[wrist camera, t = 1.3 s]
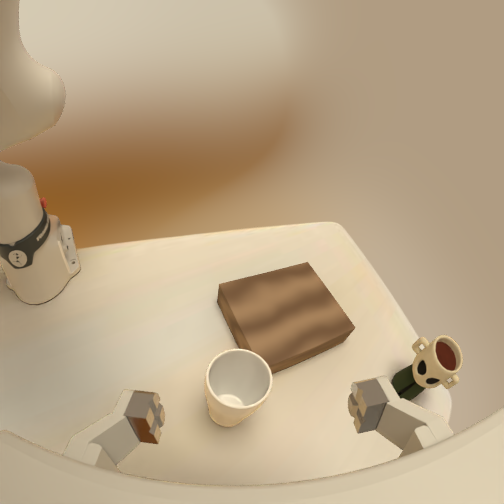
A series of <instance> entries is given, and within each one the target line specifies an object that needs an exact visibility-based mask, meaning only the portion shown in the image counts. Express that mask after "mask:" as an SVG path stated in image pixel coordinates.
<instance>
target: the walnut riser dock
mask: <svg viewBox="0 0 504 504" xmlns="http://www.w3.org/2000/svg"><path fill="white" fill-rule="evenodd" d="M217 302H218V305H219V307H220V309H221V311H222V313H223V315H224V318H225V320H226V322H227V324H228V326H229V328H230V330H231V332H232V335H233V337H234V339H235V341H236V343H237V345H238V347H239V349H245V350H249V351H252V352H254V353H256V354H257V355H259V356H260V357H262V358H263V359H264V360H265V361H266V363H267V364H268V366H269V368H270V370H271V373H272V374H273V373H276V372H278V371H281V370H283V369H286V368H288V367H290V366H293V365H295V364H297V363H300V362H302V361H304V360H306V359H309V358H311V357H313V356H315V355H317V354H320V353H322V352H324V351H326V350H328V349H330V348H332V347H334V346H336V345H338V344H340V343H342V342H344V341H345V340H346V338H347V337H348V336H349V335H350V334H351V333H352V331H353V330H354V329H355V326H354V325H353V324H352V322H351V321H350V319H349V318H348V317H347V315H346V314H345V312H344V311H343V310H342V308H341V307H340V305H339V304H338V303H337V301H336V300H335V298H334V297H333V296H332V294H331V293H330V292H329V290H328V289H327V288H326V286H325V285H324V283H323V282H322V281H321V279H320V278H319V277H318V275H317V274H316V273H315V271H314V270H313V269H312V267H311V266H310V265H309V263H308V262H306V263H302V264H298V265H294V266H290V267H286V268H283V269H279V270H275V271H271V272H267V273H263V274H259V275H255V276H251V277H247V278H242V279H238V280H234V281H230V282H226V283H222V284H219V290H218V299H217Z"/></svg>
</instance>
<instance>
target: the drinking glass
mask: <svg viewBox="0 0 504 504" xmlns="http://www.w3.org/2000/svg"><path fill="white" fill-rule="evenodd" d="M272 383H273V378H272V373H271V370H270V368H269V366H268V364H267V363H266V361H265V360H264V359H263V358H262V357H260V356H259V355H257V354H256V353H254V352H252V351H249V350H245V349H230V350H226V351H223V352H221V353H220V354H218V355H217V356H215V357H214V358H213V359H212V361H211V362H210V364H209V365H208V368H207V371H206V376H205V383H204V390H205V396H206V400H207V404H208V410H209V415H210V417H211V418H212V420H213V421H214V422H215V423H217V424H219V425H221V426H225V427H231V426H235V425H237V424H239V423H240V422H241V421H242V420H243V419H245V418H246V417H248V416H249V415H251V414H252V413H254V412H255V411H256V410H257V409H258V408H259V407H260V406H261V405H262V404H263V403H264V401H265V400H266V398H267V396H268V395H269V393H270V391H271V388H272Z"/></svg>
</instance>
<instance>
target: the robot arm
mask: <svg viewBox="0 0 504 504" xmlns="http://www.w3.org/2000/svg"><path fill="white" fill-rule="evenodd" d="M64 104H65V87H64V84H63V81H62V79H61V78H60V76H59V75H58V74H57V73H56V72H55V71H54V70H52V69H50V68H47V67H45V66H43V65H41V64H39V63H38V62H36V61H35V60H34V59H33V58H32V57H31V56H30V55H29V54H28V53H27V51H26V49H25V48H24V46H23V44H22V41H21V38H20V32H19V0H0V152H1V151H3V150H5V149H8V148H10V147H12V146H15V145H18V144H20V143H23V142H25V141H28V140H31V139H32V138H34V137H36V136H38V135H39V134H41V133H43V132H45V131H46V130H48V129H50V128H52V127H53V126H55V125H56V123H57V122H58V120H59V118H60V116H61V114H62V112H63V108H64ZM44 208H46V199H45V198H42V199H39V196H38V192H37V189H36V185H35V181H34V178H33V176H32V174H31V173H30V172H29V171H28V170H27V169H26V168H24V167H22V166H20V165H14V164H7V163H4V162H2V161H1V160H0V263H1V265H2V268H3V270H4V272H5V274H6V276H7V280H6V284H7V286H8V287H9V288H10V289H12V290H14V291H15V293H16V294H17V296H18V298H19V299H20V300H22V301H23V302H25V303H28V304H40V303H44V302H46V301H48V300H50V299H52V298H53V297H55V296H56V295H57V294H58V293H60V292H61V290H62V289H63V288H64V287H65V285H66V284H67V282H68V281H69V280H70V278H72V277H73V276H74V275H76V274H77V273H78V272H79V271H80V269H81V267H80V263H79V259H78V255H77V251H76V247H75V242H74V237H73V233H72V229H71V227H70V226H67V225H61V224H60V221H59V218H58V217H57V216H54V215H48V214H47V212H46V211H45V210H44ZM351 391H352V393H351V394H350V395H349V398H348V409H349V413H350V415H351V416H352V417H354V418H355V419H354V422H353V423H354V425H355V428H356V430H357V433H363V432H367V431H372V430H376V431H377V432H378V433H380V434H381V435H382V436H384V437H385V438H386V439H388V440H389V441H391V442H392V443H393V444H395V445H396V446H398V447H399V448H400V449H402V450H403V451H402V453H401V454H400V456H399V458H397V459H394V460H391V461H388V462H385V463H382V464H379V465H375V466H372V467H368V468H365V469H361V470H357V471H353V472H348V473H344V474H339V475H335V476H329V477H324V478H318V479H312V480H305V481H298V482H290V483H280V484H267V485H244V486H222V485H199V484H187V483H177V482H169V481H161V480H155V479H149V478H143V477H138V476H133V475H128V474H123V473H121V472H120V470H119V469H118V468H117V467H116V465H117V464H118V463H119V462H120V461H121V460H122V459H124V458H125V457H126V456H127V455H128V454H129V453H130V452H131V451H132V450H133V449H134V448H135V447H137V446H138V445H139V444H140V442H144V443H153V444H159V440H160V436H161V431H160V429H159V428H160V427H162V426H163V425H164V421H165V412H164V408H163V406H162V405H161V404H160V403H159V401H160V397H159V395H158V393H154V392H145V391H137V390H128V389H125V390H124V391H123V392H122V394H121V396H120V398H119V400H118V402H117V404H116V406H115V409H114V411H113V413H112V414H108V415H106V416H105V417H103V418H101V419H100V420H98V421H97V422H95V423H93V424H92V425H90V426H88V427H87V428H85V429H84V430H82V431H80V432H79V433H77V434H75V435H74V436H72V438H71V440H70V442H69V444H68V445H67V447H66V449H65V451H64V453H63V455H60V454H58V453H55V452H53V451H50V450H48V449H45V448H43V447H41V446H38V445H36V444H34V443H32V442H30V441H27V440H25V439H23V438H21V437H19V436H17V435H15V434H14V433H12V432H10V431H7V430H2V431H0V504H504V407H502V408H500V409H499V410H497V411H496V412H494V413H493V414H491V415H489V416H488V417H486V418H484V419H483V420H481V421H479V422H478V423H476V424H474V425H472V426H471V427H469V428H467V429H465V430H463V431H461V432H459V433H457V434H454V433H453V431H452V430H451V428H450V427H449V425H448V424H447V422H446V421H445V419H444V418H443V417H442V416H440V415H438V414H435V413H433V412H431V411H429V410H427V409H425V408H423V407H421V406H418V405H416V404H414V403H412V402H410V401H408V400H406V399H404V398H402V399H400V397H399V396H398V394H397V392H396V391H395V389H394V388H393V386H392V384H391V383H390V381H389V380H388V378H387V377H386V376H381V377H376V378H372V379H367V380H362V381H358V382H353V383H352V386H351Z"/></svg>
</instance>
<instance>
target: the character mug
mask: <svg viewBox="0 0 504 504" xmlns="http://www.w3.org/2000/svg"><path fill="white" fill-rule="evenodd" d="M421 344H423V345H424V346H425V348H424V349H423V350H421V349H420V348H419V346H420V345H421ZM412 348H413V350H414V351H415V352H416V354H417V355H416V357H415V359H414V361H413V364H412V365H410V366H408V367H406V368H404V369H403V370H401V371H399V372H398V373H396V375H395V377H394V378H393V384H392V386H393V388H394V389H395V391H396V392H399V391H400V393H402V395H400V396H399V397H400V399H402V398H404V399H406V400H411V399H413V398H414V397H416V396H417V395H418V394H419V393H421V392H422V391H423V390H424V389H425V388H435V387H437V386H438V385H440V384H441V383H442V385H443V386H444V387H445V388H446V389H449V388H451V387H452V386H454V385H455V384H457V383H458V382H459V378H458V376H457V375H456V373H457V372H458V371H459V370H460V369H461V367H462V364H463V357H462V352H461V349H460V347H459V346H458V344H457V343H456V341H455V340H453V339H452V338H451V337H449V336H446V335H440V336H439V337H437V338H436V339H434V341H432V342H431V343H429V342H428V341H427V339H426V338H425V337H421V338H419V339H418V340H417V341H416V342H415V343H414V344H413V345H412ZM450 377H451V379H452V380H453V381H451V382H450V383H448V382H447V379H449V378H450Z"/></svg>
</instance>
